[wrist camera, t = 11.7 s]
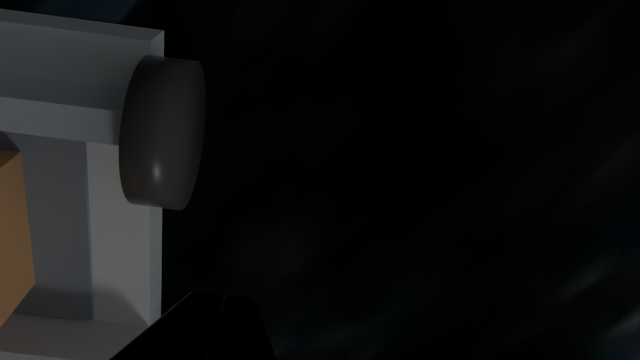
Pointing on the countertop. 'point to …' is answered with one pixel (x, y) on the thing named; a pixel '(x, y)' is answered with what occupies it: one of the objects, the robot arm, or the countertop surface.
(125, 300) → the chassis
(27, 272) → the brown cardboard cube
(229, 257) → the countertop surface
